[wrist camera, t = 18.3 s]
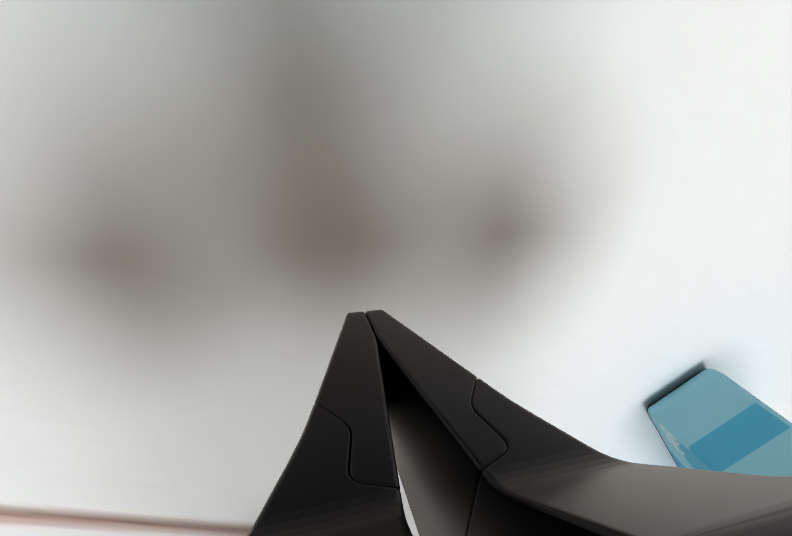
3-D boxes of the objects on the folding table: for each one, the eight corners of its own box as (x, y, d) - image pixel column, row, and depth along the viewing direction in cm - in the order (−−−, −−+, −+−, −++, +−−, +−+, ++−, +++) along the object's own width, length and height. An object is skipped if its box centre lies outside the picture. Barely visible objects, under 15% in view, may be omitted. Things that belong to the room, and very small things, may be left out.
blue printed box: (639, 400, 24) (898, 650, 14) (702, 357, 24) (1017, 583, 14) (680, 472, 30) (880, 682, 20) (730, 438, 30) (962, 637, 20)
